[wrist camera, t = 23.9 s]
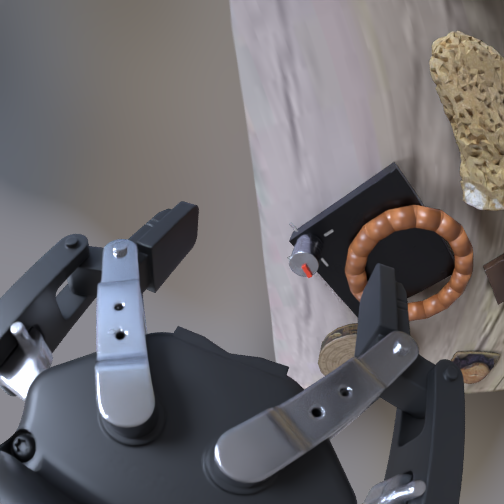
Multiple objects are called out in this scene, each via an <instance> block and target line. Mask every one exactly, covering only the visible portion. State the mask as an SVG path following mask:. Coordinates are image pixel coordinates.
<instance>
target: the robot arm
mask: <svg viewBox="0 0 504 504" xmlns="http://www.w3.org/2000/svg"><path fill="white" fill-rule="evenodd" d="M198 214H199V208H198V206H197V205H194V204H190V203H187V202H183V201H182V202H180V203H179V204H178V205H176V206H175V207H174V208H173V209H166V210H164V211H161V212H159V213H158V214H156V215H155V216H154V217H153V218H152V220H150V221H149V222H147V223H146V225H144V226H143V227H142V228H140V229H139V230H138V231H137V232H136V233H135V234H134V235H132V236H131V237H130V238H129V239H128V240H126V239H119V240H114V241H112V242H110V243H108V244H107V245H106V246H105V247H104V248H101V247H92V246H89V244H88V239H87V238H86V237H85V236H84V235H81V234H72V235H68V236H66V237H64V238H63V239H61V240H60V241H59V242H58V243H57V244H56V245H55V246H53V247H52V248H51V249H50V250H49V251H48V252H47V253H46V254H45V255H44V256H43V257H41V258H40V259H39V260H38V261H37V262H36V263H35V264H34V265H33V266H32V267H31V268H30V269H29V270H28V271H27V272H26V273H25V274H24V275H23V276H22V277H21V278H20V279H19V280H18V281H17V282H16V283H15V284H14V285H13V286H12V287H11V288H10V289H9V290H8V291H7V292H6V293H5V294H4V295H3V296H2V297H1V298H0V387H1V388H2V389H3V390H4V391H5V392H6V393H7V394H8V395H10V396H18V397H19V398H21V399H22V400H23V401H25V406H24V411H23V415H22V418H21V422H20V424H19V427H18V429H17V431H16V432H15V434H13V436H11V437H10V438H9V439H8V440H7V441H5V442H4V443H2V444H1V445H0V504H357V500H356V496H355V493H354V491H353V489H352V487H351V485H350V483H349V481H348V479H347V476H346V474H345V472H344V470H343V468H342V466H341V464H340V461H339V459H338V457H337V455H336V453H335V451H334V448H333V446H332V444H331V442H330V439H332V438H333V437H334V436H335V435H337V434H338V433H339V432H340V431H342V430H343V429H344V428H345V427H346V426H348V425H349V424H350V423H351V422H352V421H354V420H355V419H356V418H357V417H358V416H359V415H361V414H362V413H363V412H364V411H365V410H366V409H367V408H369V407H370V406H371V405H372V404H373V403H374V402H375V401H376V400H378V399H379V398H382V399H384V400H385V401H387V402H389V403H390V404H392V405H394V406H396V407H397V411H396V419H395V426H394V432H393V438H392V444H391V450H390V455H389V460H388V465H387V470H386V474H385V479H384V481H383V482H380V483H378V484H376V485H375V486H373V487H372V488H371V490H370V491H369V493H368V495H367V497H366V499H365V501H364V502H363V503H362V504H459V497H460V491H461V481H462V472H463V460H464V441H465V440H464V439H465V399H464V379H463V374H462V372H461V370H460V368H459V367H458V366H457V365H456V364H455V363H454V362H452V361H450V360H447V359H443V360H440V361H439V362H438V363H437V364H436V365H435V364H433V363H431V362H430V361H428V360H426V359H425V358H423V357H422V356H420V355H419V354H418V353H419V349H418V346H417V344H416V342H415V340H414V339H413V338H412V337H411V336H410V328H409V314H408V304H407V293H406V291H405V289H404V287H403V285H402V283H399V282H396V280H395V269H394V268H392V267H389V266H386V265H383V264H380V263H378V264H377V265H376V266H375V268H374V270H373V272H372V275H371V277H370V279H369V281H368V283H367V285H366V286H365V288H364V291H363V293H362V296H361V300H360V306H359V318H358V328H357V337H356V346H355V354H354V357H352V358H350V359H349V360H348V361H346V362H345V363H343V364H342V365H341V366H339V367H338V368H336V369H335V370H333V371H332V372H330V373H329V374H328V375H326V376H325V377H323V378H322V379H320V380H319V381H317V382H316V383H314V384H312V385H311V386H309V387H308V388H306V389H305V390H304V389H303V388H302V387H301V386H300V385H299V384H298V383H297V382H296V381H294V380H293V379H292V378H290V377H289V376H287V372H288V369H289V367H288V366H284V365H281V364H278V363H275V362H272V361H269V360H266V359H264V358H260V357H252V356H245V355H237V354H231V353H228V352H226V351H225V350H223V349H222V348H220V347H219V346H217V345H216V344H214V343H213V342H211V341H210V340H208V339H207V338H205V337H204V336H201V335H199V334H196V333H194V332H192V331H189V330H187V329H184V328H182V327H179V326H178V327H177V329H176V330H175V331H174V333H166V332H157V333H150V334H147V328H146V320H145V312H144V303H143V295H142V294H143V292H144V291H145V290H146V289H147V290H149V291H152V292H154V293H156V291H157V290H158V289H159V288H160V286H161V285H162V284H163V283H164V282H165V280H166V279H167V278H168V277H169V275H170V274H171V273H172V272H173V271H174V269H175V268H176V267H177V266H178V264H179V263H180V262H181V261H182V259H184V257H185V256H186V255H187V254H188V252H189V251H190V250H191V249H192V248H193V246H194V244H195V242H196V239H197V230H198ZM66 279H67V281H68V284H67V285H66V286H65V287H64V288H63V290H62V291H61V292H60V293H59V294H58V295H57V296H56V292H57V289H58V288H59V287H60V286H61V285H62V283H63V282H64V281H65V280H66ZM95 298H97V310H96V349H97V352H95V353H92V354H89V355H86V356H83V357H80V358H77V359H74V360H71V361H68V362H66V363H63V364H60V365H56V366H53V367H50V366H51V364H52V359H53V357H52V353H53V351H54V350H55V349H56V348H57V346H58V345H59V343H60V342H61V341H62V339H63V338H64V337H65V336H66V334H67V333H68V332H69V331H70V329H71V328H72V327H73V325H74V324H75V323H76V322H77V320H78V319H79V318H80V317H81V315H82V314H83V313H84V312H85V310H86V309H87V308H88V306H89V305H90V304H91V303H92V302H93V301H94V299H95Z"/></svg>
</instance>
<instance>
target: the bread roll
mask: <svg viewBox="0 0 504 504" xmlns="http://www.w3.org/2000/svg"><path fill="white" fill-rule="evenodd" d="M499 356H500V354H498V353H497V354H496V353H489V352H472V351H470V352H462V351H461V352H456V353H455V355H454V357H453V358H452V360H451V361H452V362H454V363H455V364H456V365H457V366H458V367H459V368H460V370H461V372H462V374H463V379H464V383H467V384H472V383H477V382H479V381H481V380H482V379H484V378H485V377H486V376H487V374H488V373H489V372H490V370H491V369H492V368H493V367H494V364H495V363H496V361H497V360H498V358H499Z"/></svg>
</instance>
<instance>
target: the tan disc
mask: <svg viewBox="0 0 504 504" xmlns="http://www.w3.org/2000/svg"><path fill="white" fill-rule="evenodd" d="M357 328H358V323H357V324H349V325H346V326H343V327H340V328H337V329H335V330H334V331H333V332H331V333H330V334H328V335H327V336H326V338H325V339H324V341H323V342H322V345H321V350H320V354H319V360H318V365H319V368H320V371H321V372H322V373H323V374H324V375H325V376H326V375H328V374H329V373H330V372H332V371H333V370H335V369H336V368H338V367H339V366H341V365H342V364H343V363H345V362H346V361H348V360H349V359H350V358H352V357H354V354H355V346H356V337H357Z"/></svg>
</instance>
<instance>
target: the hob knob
mask: <svg viewBox="0 0 504 504" xmlns="http://www.w3.org/2000/svg"><path fill="white" fill-rule="evenodd" d="M322 251H323V242H322V240H321V239H320V238H319V237H318V236H317V235H315V234H312V233H305V234H302V235H301V236H299V238H298V239H297V241H296V244H295V247H294V249H293V252H292V254H291V257H290V260H289V266H290V268H291V270H292V271H293V272H294V273H295V274H297V275H299V276H303V277H308V278H310V277H312V275H314V274H315V273H316V272H317V270H318V267H319V263H320V259H321V255H322Z"/></svg>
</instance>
